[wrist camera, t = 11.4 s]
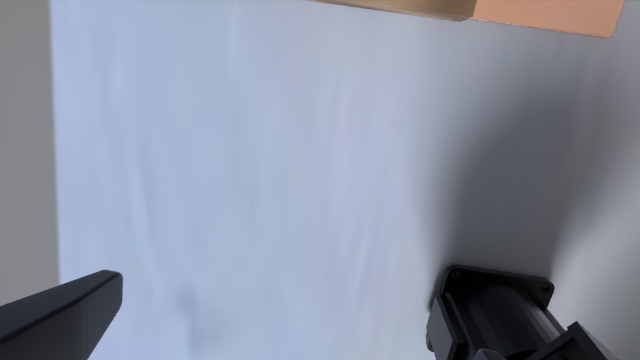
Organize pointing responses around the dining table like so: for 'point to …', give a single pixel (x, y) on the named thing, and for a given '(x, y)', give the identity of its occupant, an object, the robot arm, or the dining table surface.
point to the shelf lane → (416, 7)
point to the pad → (554, 14)
